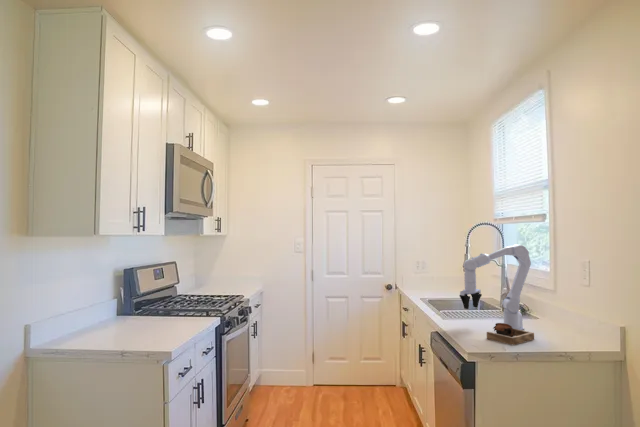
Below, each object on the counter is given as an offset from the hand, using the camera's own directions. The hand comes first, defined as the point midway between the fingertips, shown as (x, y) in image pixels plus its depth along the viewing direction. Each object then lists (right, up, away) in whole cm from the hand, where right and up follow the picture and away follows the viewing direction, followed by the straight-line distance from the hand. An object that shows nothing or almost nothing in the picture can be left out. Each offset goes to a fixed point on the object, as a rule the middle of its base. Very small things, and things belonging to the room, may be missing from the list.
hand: (470, 307), depth 217 cm
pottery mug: (+8, -10, -22) cm, 25 cm away
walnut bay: (+10, -9, -23) cm, 27 cm away
